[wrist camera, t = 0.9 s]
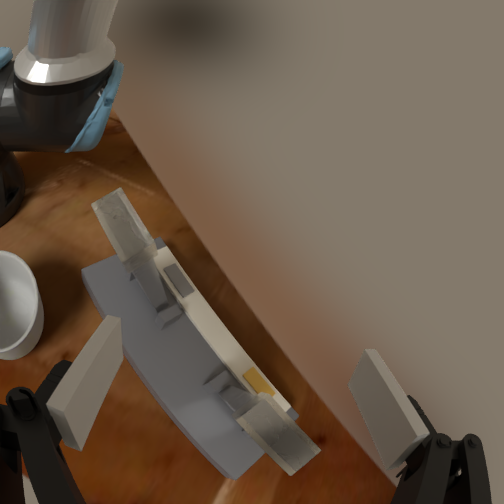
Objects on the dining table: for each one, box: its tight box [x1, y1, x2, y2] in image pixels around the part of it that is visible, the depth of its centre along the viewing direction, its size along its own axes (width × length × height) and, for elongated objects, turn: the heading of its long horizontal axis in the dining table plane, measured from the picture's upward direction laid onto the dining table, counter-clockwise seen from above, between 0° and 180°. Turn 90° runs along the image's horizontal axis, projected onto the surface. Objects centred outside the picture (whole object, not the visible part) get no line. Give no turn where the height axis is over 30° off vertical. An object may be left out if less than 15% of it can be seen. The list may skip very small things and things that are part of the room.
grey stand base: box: [81, 237, 299, 480], centre depth 30 cm, size 30×12×6 cm, turn 44°
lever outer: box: [218, 385, 321, 476], centre depth 21 cm, size 5×2×17 cm, turn 44°
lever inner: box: [91, 187, 169, 313], centre depth 24 cm, size 5×2×17 cm, turn 44°
